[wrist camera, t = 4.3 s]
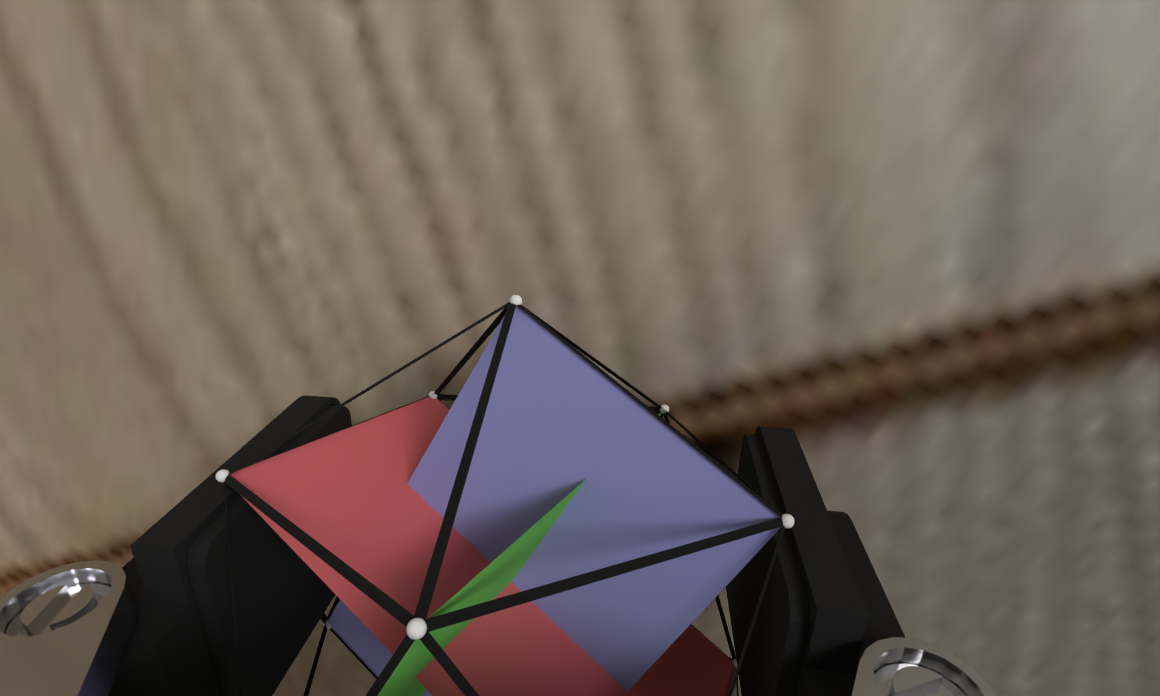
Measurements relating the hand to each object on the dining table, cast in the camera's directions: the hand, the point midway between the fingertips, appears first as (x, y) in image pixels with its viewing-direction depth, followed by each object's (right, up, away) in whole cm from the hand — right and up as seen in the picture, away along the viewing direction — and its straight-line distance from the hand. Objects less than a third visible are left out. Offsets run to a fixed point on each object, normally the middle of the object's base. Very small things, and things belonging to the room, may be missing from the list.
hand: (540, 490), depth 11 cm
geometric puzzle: (0, +1, +1) cm, 1 cm away
